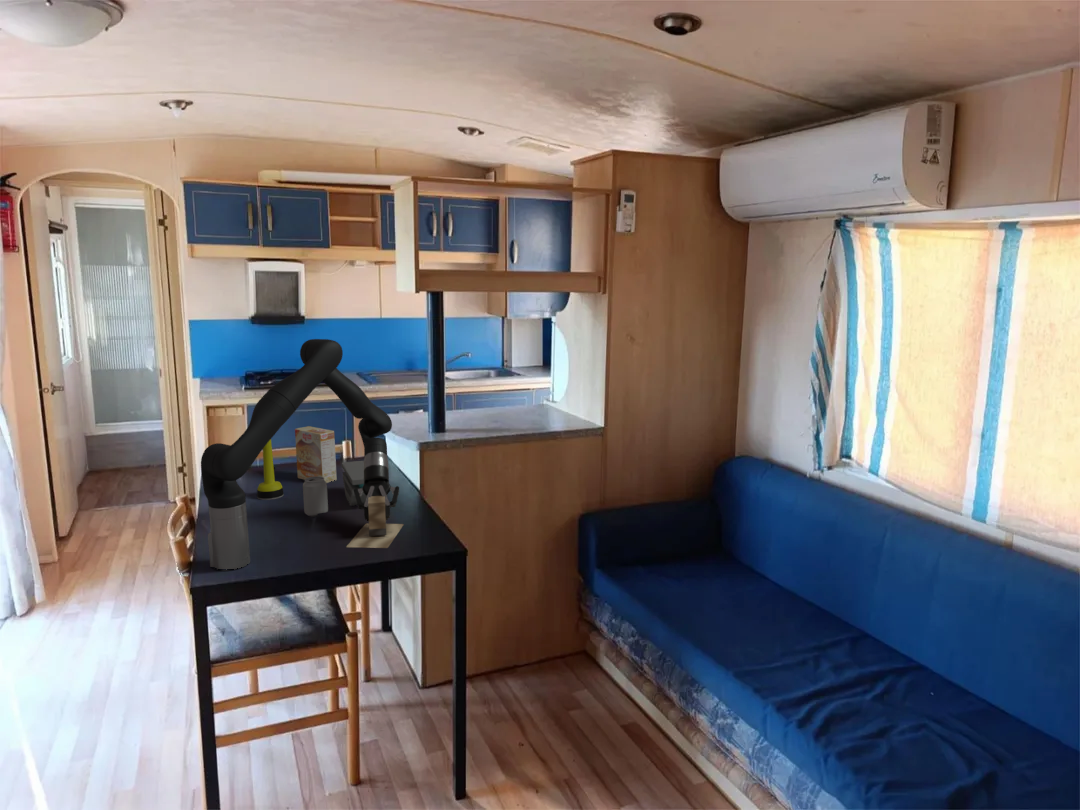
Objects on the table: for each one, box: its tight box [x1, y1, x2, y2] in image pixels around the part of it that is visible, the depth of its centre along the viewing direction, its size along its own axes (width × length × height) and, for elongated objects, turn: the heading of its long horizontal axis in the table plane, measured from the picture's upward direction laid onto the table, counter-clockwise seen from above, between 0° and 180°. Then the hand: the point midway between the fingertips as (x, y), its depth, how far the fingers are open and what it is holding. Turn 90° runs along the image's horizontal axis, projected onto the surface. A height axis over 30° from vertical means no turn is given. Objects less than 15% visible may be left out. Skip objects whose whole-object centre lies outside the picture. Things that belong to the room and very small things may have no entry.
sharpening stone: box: [341, 460, 367, 507], centre depth 254 cm, size 25×8×11 cm, turn 23°
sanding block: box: [368, 496, 387, 536], centre depth 220 cm, size 5×9×10 cm, turn 12°
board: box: [345, 522, 405, 549], centre depth 218 cm, size 12×20×1 cm, turn 177°
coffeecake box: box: [294, 425, 338, 484], centre depth 279 cm, size 15×7×20 cm, turn 55°
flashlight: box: [256, 438, 285, 501], centre depth 258 cm, size 25×9×9 cm
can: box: [302, 476, 329, 517], centre depth 240 cm, size 8×8×12 cm
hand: (377, 519), depth 218 cm, fingers closed on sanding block, 4 cm apart
